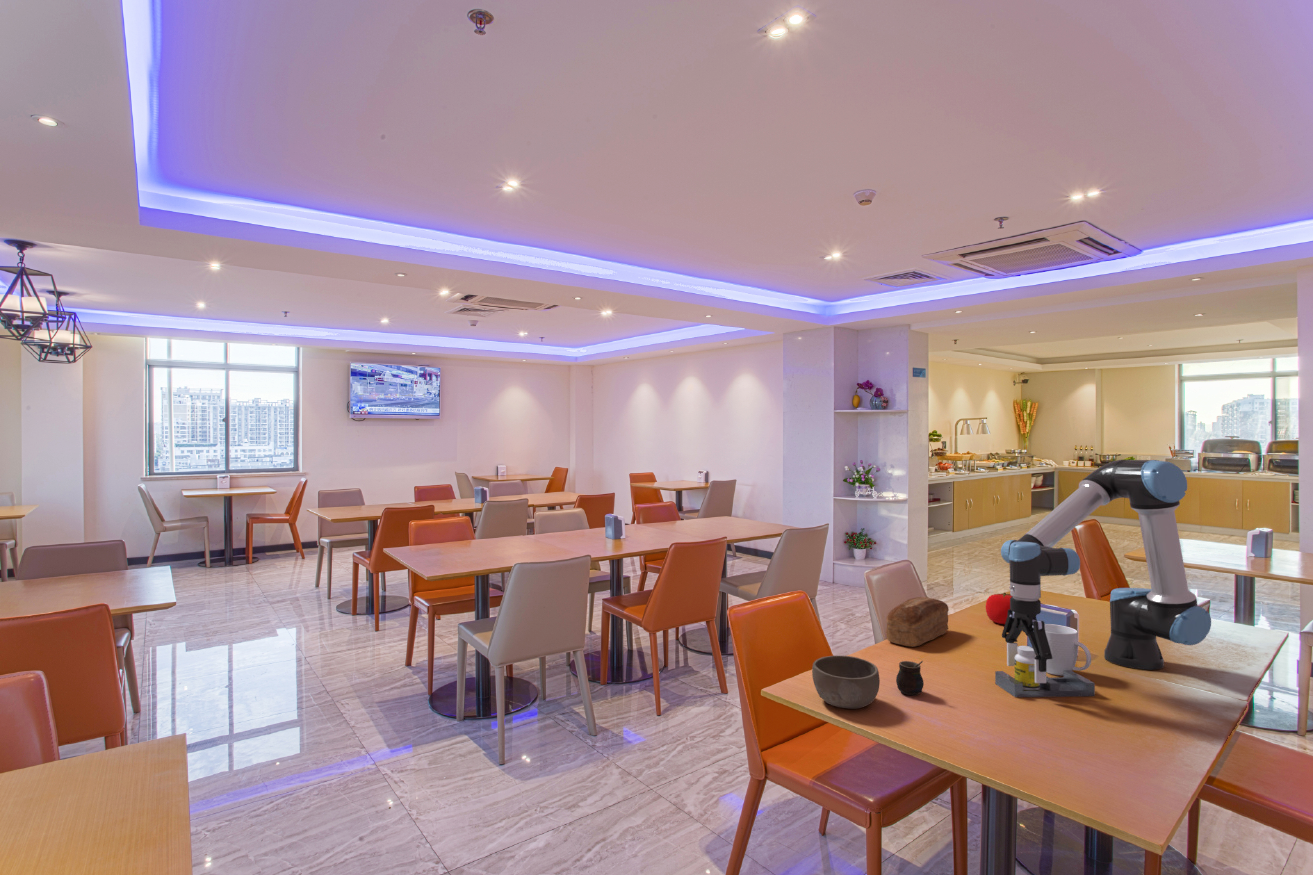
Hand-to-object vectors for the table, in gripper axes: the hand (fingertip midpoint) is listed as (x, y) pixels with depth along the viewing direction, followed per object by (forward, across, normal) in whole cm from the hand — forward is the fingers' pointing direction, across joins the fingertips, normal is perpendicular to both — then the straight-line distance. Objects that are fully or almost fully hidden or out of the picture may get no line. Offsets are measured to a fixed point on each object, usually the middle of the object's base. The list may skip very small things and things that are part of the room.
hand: (1025, 673), depth 183 cm
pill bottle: (+4, 0, 0) cm, 4 cm away
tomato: (+5, -67, +31) cm, 74 cm away
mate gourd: (+5, +1, -33) cm, 33 cm away
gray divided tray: (+4, 0, +5) cm, 7 cm away
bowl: (+5, +7, -53) cm, 54 cm away
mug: (+5, -13, +18) cm, 23 cm away
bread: (+5, -50, -9) cm, 51 cm away
